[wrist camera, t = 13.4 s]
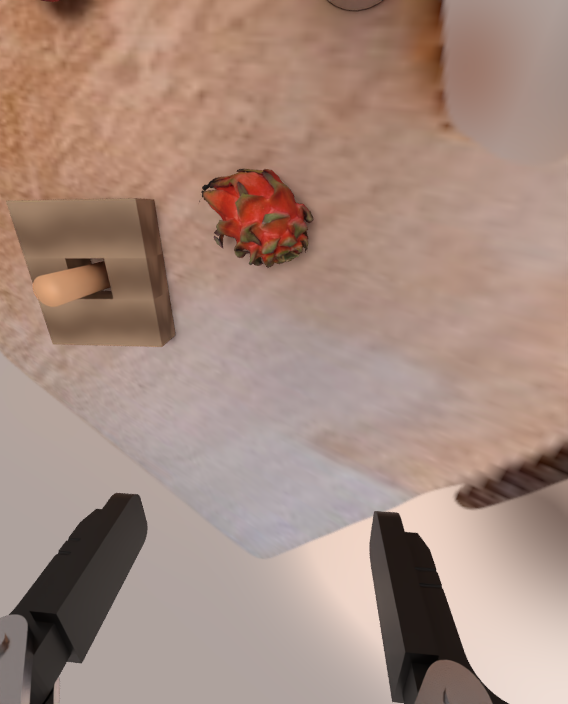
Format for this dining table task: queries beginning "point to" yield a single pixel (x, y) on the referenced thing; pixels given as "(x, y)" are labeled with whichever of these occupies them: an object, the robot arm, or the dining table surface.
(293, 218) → the dragon fruit
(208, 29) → the dining table surface
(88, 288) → the peg
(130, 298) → the hole block
